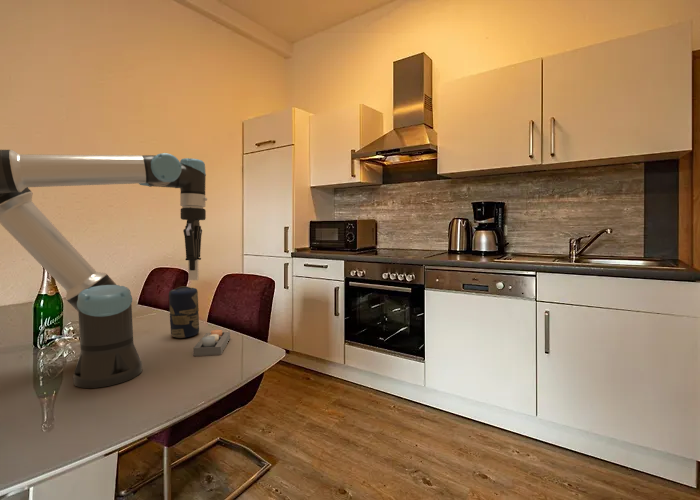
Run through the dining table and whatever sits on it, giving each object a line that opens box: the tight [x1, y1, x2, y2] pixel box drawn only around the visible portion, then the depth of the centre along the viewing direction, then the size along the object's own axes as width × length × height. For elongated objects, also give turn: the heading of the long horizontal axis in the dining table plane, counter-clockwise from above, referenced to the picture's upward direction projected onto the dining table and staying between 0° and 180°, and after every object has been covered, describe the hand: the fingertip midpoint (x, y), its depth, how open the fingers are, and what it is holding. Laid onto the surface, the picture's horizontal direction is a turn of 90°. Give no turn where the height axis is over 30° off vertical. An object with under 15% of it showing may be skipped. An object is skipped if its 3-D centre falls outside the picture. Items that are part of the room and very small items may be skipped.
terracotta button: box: [210, 329, 223, 336], centre depth 125 cm, size 4×4×2 cm
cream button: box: [208, 334, 219, 341], centre depth 120 cm, size 4×4×2 cm
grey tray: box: [192, 331, 231, 357], centre depth 120 cm, size 16×8×2 cm, turn 8°
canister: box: [168, 285, 200, 339], centre depth 132 cm, size 10×10×18 cm
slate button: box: [202, 336, 215, 347], centre depth 114 cm, size 4×4×2 cm
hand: (193, 279), depth 120 cm, fingers closed
